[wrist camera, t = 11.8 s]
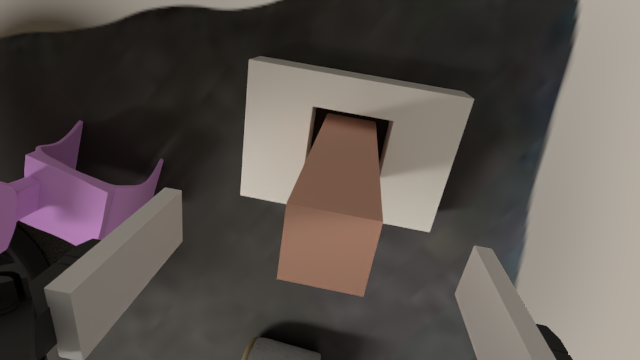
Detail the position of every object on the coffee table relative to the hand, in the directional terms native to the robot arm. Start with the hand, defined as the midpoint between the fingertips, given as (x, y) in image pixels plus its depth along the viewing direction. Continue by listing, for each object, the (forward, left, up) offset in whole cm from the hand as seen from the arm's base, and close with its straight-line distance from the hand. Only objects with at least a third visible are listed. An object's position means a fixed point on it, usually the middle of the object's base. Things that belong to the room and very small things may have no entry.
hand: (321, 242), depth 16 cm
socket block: (0, 0, -15) cm, 15 cm away
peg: (0, 0, -15) cm, 15 cm away
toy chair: (-21, -7, -16) cm, 27 cm away
